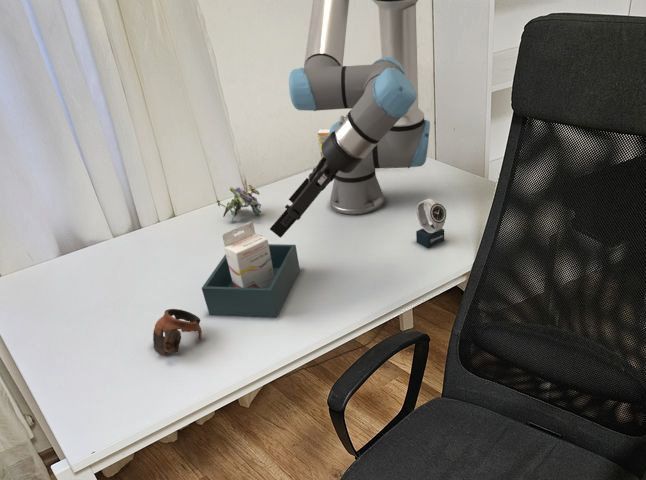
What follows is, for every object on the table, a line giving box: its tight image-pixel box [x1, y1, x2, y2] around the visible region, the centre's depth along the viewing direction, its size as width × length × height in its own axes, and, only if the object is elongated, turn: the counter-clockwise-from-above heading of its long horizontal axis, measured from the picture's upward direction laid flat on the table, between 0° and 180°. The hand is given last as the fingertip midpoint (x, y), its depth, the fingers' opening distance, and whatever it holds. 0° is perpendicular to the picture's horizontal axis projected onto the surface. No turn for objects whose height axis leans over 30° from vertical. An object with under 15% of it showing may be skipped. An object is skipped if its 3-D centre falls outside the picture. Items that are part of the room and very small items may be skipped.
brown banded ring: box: [152, 308, 203, 357], centre depth 120 cm, size 12×10×8 cm
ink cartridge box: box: [222, 221, 275, 288], centre depth 130 cm, size 9×5×15 cm, turn 134°
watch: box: [415, 198, 447, 249], centre depth 145 cm, size 6×8×11 cm
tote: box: [201, 243, 301, 318], centre depth 133 cm, size 20×16×7 cm
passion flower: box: [216, 184, 262, 222], centre depth 164 cm, size 11×11×12 cm
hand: (285, 217), depth 122 cm, fingers open, 13 cm apart
